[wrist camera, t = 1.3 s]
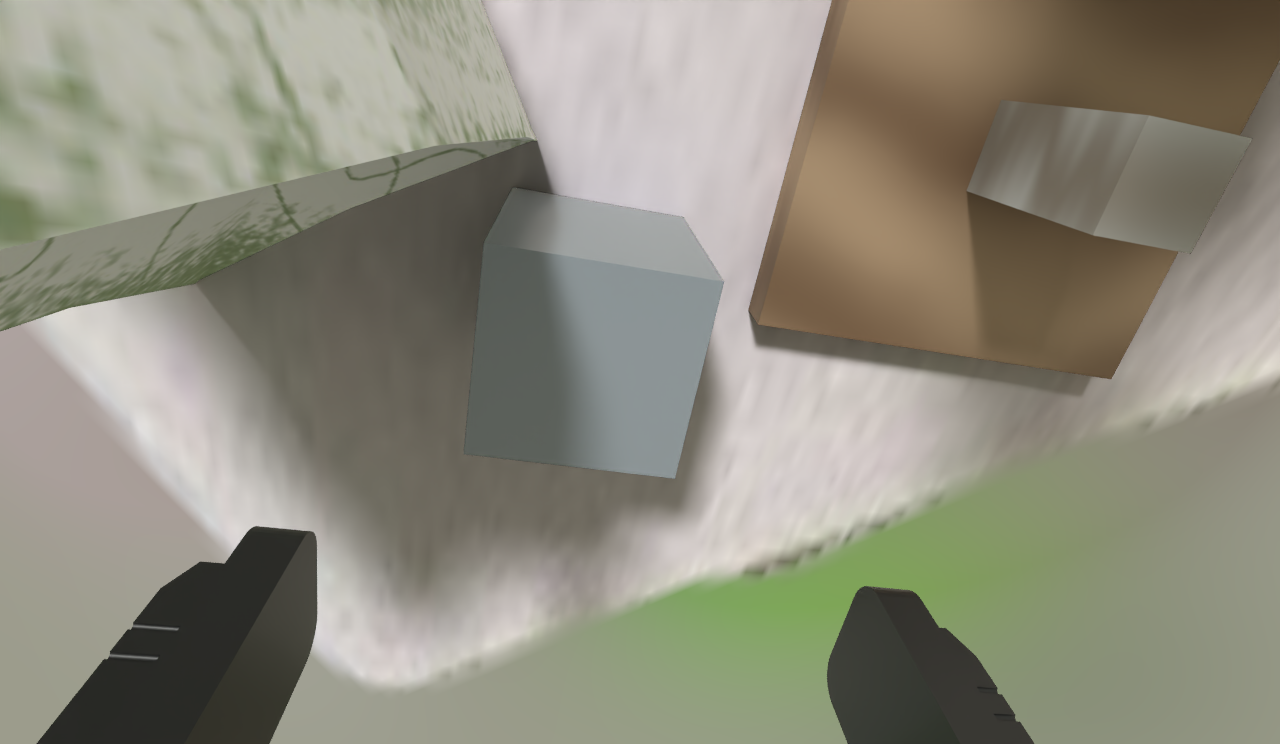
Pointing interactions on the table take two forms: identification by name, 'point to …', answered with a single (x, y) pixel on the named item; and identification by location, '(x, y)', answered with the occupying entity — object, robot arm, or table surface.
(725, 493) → the table surface
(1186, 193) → the flat brown square board
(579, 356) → the slate grey cube
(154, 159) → the grocery bag
